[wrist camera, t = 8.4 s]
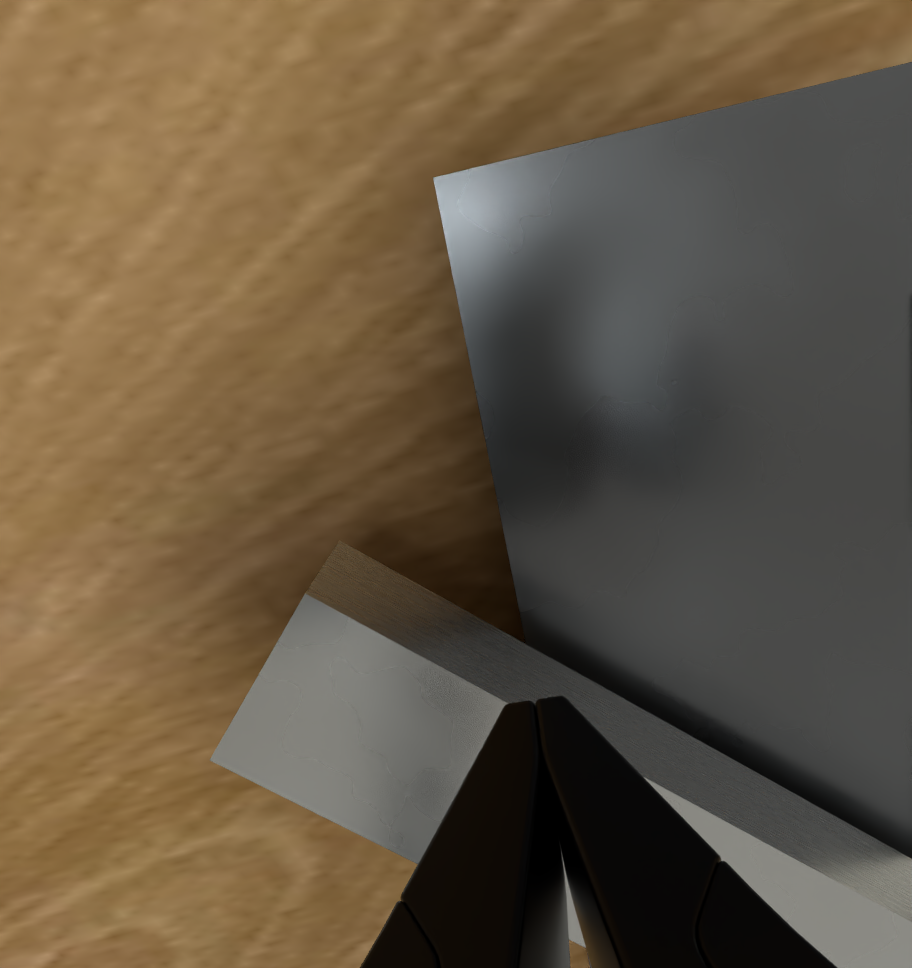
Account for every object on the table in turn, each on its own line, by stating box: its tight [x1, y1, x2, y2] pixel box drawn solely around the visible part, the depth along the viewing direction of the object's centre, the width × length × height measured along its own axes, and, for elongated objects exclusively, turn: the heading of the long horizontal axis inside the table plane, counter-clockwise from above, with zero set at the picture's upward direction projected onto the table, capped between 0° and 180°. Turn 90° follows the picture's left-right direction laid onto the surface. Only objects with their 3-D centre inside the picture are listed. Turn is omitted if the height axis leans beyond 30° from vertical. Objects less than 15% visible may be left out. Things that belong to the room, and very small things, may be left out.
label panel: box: [433, 62, 912, 968], centre depth 14 cm, size 23×16×1 cm
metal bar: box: [210, 540, 912, 968], centre depth 12 cm, size 22×4×3 cm, turn 59°
